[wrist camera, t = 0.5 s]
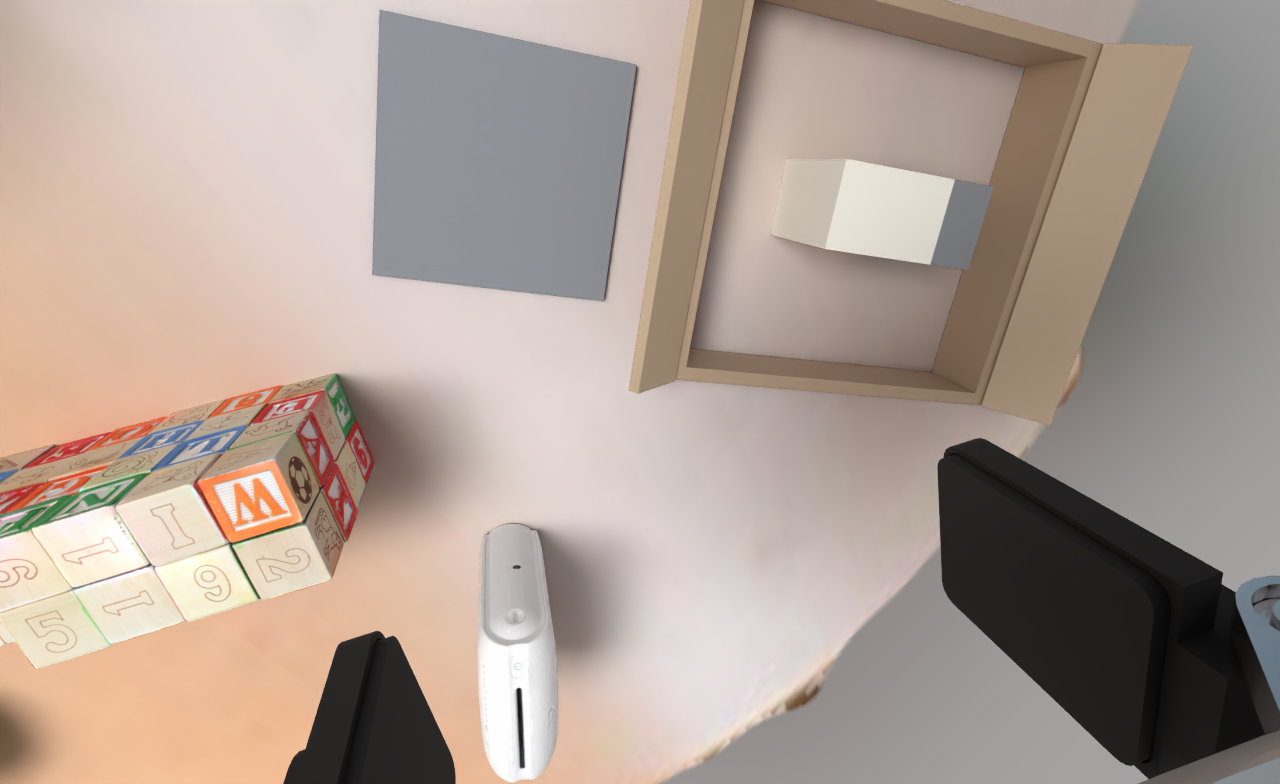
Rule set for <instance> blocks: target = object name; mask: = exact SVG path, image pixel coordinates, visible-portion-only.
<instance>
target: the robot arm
mask: <svg viewBox="0 0 1280 784" xmlns="http://www.w3.org/2000/svg"><path fill="white" fill-rule="evenodd" d="M938 490H939V515H940V540H941V564H942V583H943V587H944V590H945V592H946V594H947V596H948V598H949V599H950V600H951V602H952V603H953V604H954V605H955V606H956V607H957V608H958V609H959V610H960V611H961V612H962V613H964V614H965V615H966V616H967V617H968V618H969V619H970V620H971V621H972V622H973V623H974V624H975V625H976V626H977V627H978V628H979V629H980V630H981V631H982V632H983V633H985V634H986V635H987V636H988V637H989V638H990V639H991V640H992V641H993V642H994V643H995V644H996V645H997V646H998V647H999V648H1000V649H1002V651H1004V652H1005V653H1006V654H1007V655H1008V656H1009V657H1010V658H1011V659H1012V660H1013V661H1014V662H1015V663H1016V664H1017V665H1018V666H1019V667H1020V668H1021V669H1022V670H1024V671H1025V672H1026V673H1027V674H1028V675H1029V676H1030V677H1031V678H1032V679H1033V680H1034V681H1035V682H1036V683H1037V684H1038V685H1039V686H1040V687H1041V688H1042V689H1043V690H1044V691H1046V692H1047V693H1048V694H1049V695H1050V696H1051V697H1052V698H1053V699H1054V700H1055V701H1056V702H1057V703H1058V704H1059V705H1060V706H1061V707H1062V708H1064V710H1065V711H1067V712H1068V713H1069V714H1070V715H1071V716H1072V717H1073V718H1074V719H1075V720H1076V721H1077V722H1078V723H1079V724H1080V725H1081V726H1082V727H1083V728H1084V729H1085V730H1086V731H1088V732H1089V733H1090V734H1091V735H1092V736H1093V737H1094V738H1095V739H1096V740H1097V741H1098V742H1099V743H1100V744H1101V745H1102V746H1103V747H1104V748H1106V749H1107V750H1108V751H1109V752H1110V753H1111V754H1112V755H1113V756H1114V757H1115V758H1116V759H1118V760H1119V761H1120V762H1122V763H1124V764H1125V765H1129V766H1132V765H1134V766H1135V767H1137V768H1138V769H1139V770H1140V771H1141V772H1142V773H1143V774H1144V775H1145V776H1146V777H1147V778H1148V779H1149V780H1146V781H1144V782H1142V783H1139V784H1280V576H1266V577H1260V578H1254V579H1252V580H1250V581H1247V582H1245V583H1244V584H1242V585H1241V586H1240V587H1239V589H1238V590H1237V592H1234V591H1232V590H1231V589H1229V588H1227V587H1225V586H1224V585H1222V584H1221V583H1222V576H1223V573H1222V572H1221V571H1219V570H1217V569H1215V568H1213V567H1212V566H1210V565H1208V564H1206V563H1204V562H1203V561H1201V560H1199V559H1197V558H1196V557H1194V556H1192V555H1190V554H1188V553H1187V552H1185V551H1183V550H1182V549H1180V548H1178V547H1176V546H1174V545H1172V544H1171V543H1169V542H1167V541H1165V540H1164V539H1162V538H1160V537H1158V536H1156V535H1155V534H1153V533H1151V532H1149V531H1148V530H1146V529H1144V528H1142V527H1140V526H1139V525H1137V524H1135V523H1133V522H1132V521H1130V520H1128V519H1126V518H1124V517H1123V516H1121V515H1119V514H1117V513H1115V512H1114V511H1112V510H1110V509H1108V508H1106V507H1105V506H1103V505H1101V504H1100V503H1098V502H1096V501H1094V500H1092V499H1091V498H1089V497H1087V496H1085V495H1083V494H1082V493H1080V492H1078V491H1076V490H1075V489H1073V488H1071V487H1069V486H1067V485H1066V484H1064V483H1062V482H1060V481H1058V480H1057V479H1055V478H1053V477H1051V476H1049V475H1048V474H1046V473H1044V472H1042V471H1041V470H1039V469H1037V468H1035V467H1034V466H1032V465H1030V464H1028V463H1026V462H1025V461H1023V460H1021V459H1019V458H1018V457H1016V456H1014V455H1012V454H1010V453H1009V452H1007V451H1005V450H1003V449H1001V448H1000V447H998V446H996V445H994V444H993V443H991V442H989V441H987V440H985V439H982V438H977V439H974V440H970V441H967V442H964V443H961V444H958V445H955V446H952V447H949V448H948V449H946V451H945V453H944V458H942V459H941V460H939V463H938ZM283 784H455V768H454V762H453V759H452V756H451V753H450V751H449V749H448V746H447V744H446V742H445V740H444V738H443V736H442V734H441V731H440V729H439V727H438V725H437V723H436V721H435V718H434V716H433V714H432V712H431V710H430V708H429V706H428V703H427V701H426V699H425V697H424V695H423V693H422V691H421V688H420V686H419V684H418V682H417V680H416V678H415V675H414V673H413V671H412V669H411V667H410V665H409V663H408V660H407V658H406V656H405V654H404V652H403V650H402V647H401V645H400V643H399V641H398V640H397V638H396V637H395V636H391V637H388V638H385V637H384V635H383V634H382V633H381V632H380V631H375V632H372V633H369V634H366V635H363V636H360V637H356V638H353V639H350V640H347V641H344V642H341V643H340V644H339V645H338V647H337V649H336V652H335V655H334V658H333V661H332V665H331V668H330V671H329V674H328V678H327V681H326V684H325V687H324V691H323V694H322V697H321V700H320V704H319V707H318V710H317V714H316V717H315V720H314V723H313V727H312V730H311V733H310V736H309V740H308V743H307V746H306V749H305V750H302V751H299V752H298V753H297V754H296V755H295V757H294V758H293V760H292V762H291V764H290V766H289V768H288V771H287V774H286V777H285V780H284V783H283Z"/></svg>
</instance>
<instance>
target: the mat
mask: <svg viewBox="0 0 1280 784" xmlns="http://www.w3.org/2000/svg"><path fill="white" fill-rule="evenodd" d="M635 72H636V65H635V64H631V63H626V62H621V61H617V60H612V59H607V58H603V57H598V56H593V55H589V54H584V53H579V52H575V51H570V50H565V49H561V48H556V47H551V46H547V45H542V44H537V43H533V42H528V41H523V40H519V39H514V38H509V37H505V36H500V35H495V34H490V33H486V32H481V31H476V30H472V29H467V28H462V27H458V26H453V25H448V24H444V23H439V22H434V21H430V20H425V19H420V18H416V17H411V16H406V15H402V14H397V13H392V12H388V11H383V10H380V16H379V52H378V88H377V124H376V160H375V196H374V233H373V269H372V275H378V276H387V277H396V278H405V279H413V280H422V281H431V282H440V283H449V284H457V285H466V286H475V287H484V288H492V289H501V290H510V291H519V292H528V293H536V294H545V295H554V296H563V297H571V298H580V299H589V300H598V301H604V294H605V287H606V280H607V272H608V265H609V258H610V251H611V244H612V237H613V229H614V222H615V215H616V208H617V201H618V194H619V186H620V179H621V172H622V165H623V158H624V151H625V143H626V136H627V129H628V122H629V115H630V108H631V100H632V93H633V86H634V79H635Z"/></svg>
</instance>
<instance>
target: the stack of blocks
mask: <svg viewBox="0 0 1280 784" xmlns="http://www.w3.org/2000/svg"><path fill="white" fill-rule="evenodd" d="M373 465H374V462H373V459H372V457H371V454H370V452H369V449H368V447H367V444H366V442H365V439H364V437H363V435H362V432H361V430H360V428H359V425H358V422H357V421H356V420H355V418H354V415H353V413H352V410H351V408H350V405H349V403H348V400H347V398H346V395H345V393H344V390H343V388H342V386H341V383H340V381H339V378H338V375H337V374H336V373H334V374H330V375H326V376H322V377H318V378H314V379H310V380H306V381H302V382H298V383H294V384H290V385H286V386H276V387H272V388H268V389H264V390H260V391H257V392H253V393H249V394H245V395H241V396H237V397H233V398H229V399H227V400H221V401H217V402H212V403H208V404H204V405H201V406H197V407H193V408H189V409H185V410H182V411H177V412H174V413H172V414H170V415H169V416H168V417H162V418H158V419H155V420H151V421H148V422H143V423H139V424H136V425H132V426H128V427H124V428H120V429H117V430H115V431H113V432H109V433H105V434H101V435H97V436H93V437H89V438H85V439H82V440H78V441H73V442H70V443H66V444H62V445H59V446H56V447H55V446H53V445H50V446H46V447H43V448H39V449H35V450H31V451H27V452H23V453H19V454H15V455H11V456H7V457H3V458H0V646H3V645H5V644H7V643H14V642H16V643H17V644H18V646H19V647H20V649H21V650H22V651H23V653H24V654H25V656H26V657H27V659H28V660H29V661H30V663H31V664H32V665H33V667H34V668H35V669H40V668H44V667H47V666H50V665H54V664H57V663H60V662H63V661H66V660H69V659H72V658H75V657H78V656H82V655H85V654H88V653H92V652H95V651H98V650H101V649H104V648H107V647H109V646H111V645H112V644H115V643H118V642H122V641H126V640H129V639H132V638H136V637H139V636H142V635H145V634H148V633H150V632H153V631H157V630H161V629H164V628H167V627H170V626H173V625H176V624H179V623H181V622H183V621H189V622H190V621H194V620H197V619H201V618H204V617H207V616H211V615H214V614H217V613H221V612H224V611H227V610H230V609H234V608H237V607H240V606H243V605H246V604H250V603H253V602H256V601H258V600H259V599H260V598H261V599H270V598H273V597H276V596H280V595H283V594H287V593H290V592H293V591H297V590H300V589H303V588H307V587H310V586H314V585H317V584H320V583H324V582H326V581H328V580H331V578H332V577H333V575H334V572H335V569H336V566H337V563H338V560H339V557H340V554H341V551H342V548H343V544H344V542H346V541H348V539H349V536H350V534H351V531H352V528H353V525H354V522H355V520H356V516H357V513H358V510H357V509H358V507H359V503H360V500H361V497H362V494H363V492H364V488H365V485H366V484H367V482H368V479H369V476H370V473H371V470H372V468H373Z"/></svg>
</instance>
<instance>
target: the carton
mask: <svg viewBox="0 0 1280 784" xmlns="http://www.w3.org/2000/svg"><path fill="white" fill-rule="evenodd" d="M761 1H765V2H769V3H773V4H777V5H781V6H785V7H788V8H792V9H796V10H800V11H804V12H808V13H812V14H816V15H820V16H824V17H828V18H832V19H836V20H840V21H844V22H848V23H852V24H856V25H859V26H863V27H867V28H871V29H875V30H879V31H883V32H887V33H891V34H895V35H899V36H903V37H907V38H911V39H915V40H919V41H923V42H927V43H930V44H934V45H938V46H942V47H946V48H950V49H954V50H958V51H962V52H966V53H970V54H974V55H978V56H982V57H986V58H990V59H994V60H997V61H1001V62H1005V63H1009V64H1013V65H1017V66H1021V67H1025V70H1024V74H1023V77H1022V80H1021V83H1020V87H1019V90H1018V93H1017V96H1016V100H1015V103H1014V106H1013V109H1012V113H1011V116H1010V119H1009V122H1008V126H1007V129H1006V132H1005V135H1004V139H1003V142H1002V145H1001V148H1000V152H999V155H998V158H997V161H996V165H995V168H994V171H993V174H992V178H991V181H990V184H989V186H992V187H994V188H993V191H992V195H991V198H990V201H989V204H988V208H987V211H986V214H985V217H984V220H983V224H982V227H981V230H980V233H979V237H978V240H977V243H976V246H975V250H974V253H973V256H972V259H971V262H970V266H969V269H968V270H963V272H962V275H961V278H960V281H959V285H958V288H957V291H956V294H955V298H954V301H953V304H952V307H951V311H950V314H949V317H948V320H947V324H946V327H945V330H944V333H943V337H942V340H941V343H940V346H939V350H938V353H937V356H936V359H935V363H934V366H933V369H932V372H924V371H914V370H904V369H893V368H883V367H873V366H863V365H852V364H842V363H832V362H822V361H812V360H801V359H791V358H781V357H771V356H760V355H750V354H740V353H730V352H720V351H709V350H699V349H690V344H691V339H692V333H693V328H694V323H695V317H696V312H697V306H698V301H699V296H700V290H701V285H702V279H703V274H704V269H705V263H706V258H707V252H708V247H709V242H710V236H711V231H712V225H713V220H714V215H715V209H716V204H717V198H718V193H719V188H720V182H721V177H722V171H723V166H724V161H725V155H726V150H727V144H728V139H729V134H730V128H731V123H732V117H733V112H734V107H735V101H736V96H737V90H738V85H739V80H740V74H741V69H742V63H743V58H744V53H745V47H746V42H747V36H748V31H749V26H750V20H751V15H752V9H753V4H754V0H690V6H689V13H688V19H687V25H686V31H685V38H684V44H683V50H682V57H681V63H680V69H679V76H678V82H677V88H676V95H675V101H674V107H673V114H672V120H671V126H670V132H669V139H668V145H667V151H666V158H665V164H664V170H663V177H662V183H661V189H660V196H659V202H658V208H657V215H656V221H655V227H654V233H653V240H652V246H651V252H650V259H649V265H648V271H647V278H646V284H645V290H644V297H643V303H642V309H641V316H640V322H639V328H638V334H637V341H636V347H635V353H634V360H633V366H632V372H631V379H630V385H629V391H632V392H635V393H638V394H639V393H642V392H644V391H647V390H650V389H653V388H656V387H659V386H662V385H665V384H667V383H670V382H673V381H675V380H684V381H696V382H708V383H720V384H732V385H744V386H756V387H768V388H780V389H791V390H803V391H815V392H827V393H839V394H851V395H863V396H875V397H887V398H899V399H910V400H922V401H934V402H946V403H958V404H970V405H981V406H982V407H985V408H989V409H992V410H996V411H1000V412H1003V413H1007V414H1011V415H1014V416H1018V417H1021V418H1025V419H1029V420H1032V421H1036V422H1040V423H1043V424H1047V425H1050V424H1051V422H1052V419H1053V416H1054V414H1055V411H1056V408H1057V406H1058V403H1059V400H1060V398H1061V395H1062V393H1063V390H1064V387H1065V385H1066V382H1067V379H1068V377H1069V374H1070V371H1071V369H1072V366H1073V363H1074V361H1075V358H1076V355H1077V353H1078V350H1079V348H1080V345H1081V342H1082V340H1083V337H1084V334H1085V332H1086V329H1087V326H1088V324H1089V321H1090V318H1091V316H1092V313H1093V310H1094V307H1095V305H1096V302H1097V300H1098V297H1099V295H1100V292H1101V289H1102V287H1103V284H1104V281H1105V279H1106V276H1107V273H1108V270H1109V268H1110V265H1111V263H1112V260H1113V257H1114V255H1115V252H1116V249H1117V247H1118V244H1119V242H1120V239H1121V236H1122V234H1123V231H1124V228H1125V226H1126V223H1127V220H1128V218H1129V215H1130V212H1131V210H1132V207H1133V204H1134V201H1135V199H1136V196H1137V194H1138V191H1139V189H1140V186H1141V183H1142V181H1143V178H1144V175H1145V173H1146V170H1147V167H1148V165H1149V162H1150V159H1151V157H1152V154H1153V151H1154V149H1155V146H1156V143H1157V141H1158V138H1159V135H1160V133H1161V130H1162V127H1163V125H1164V122H1165V120H1166V117H1167V114H1168V111H1169V109H1170V106H1171V104H1172V101H1173V98H1174V96H1175V93H1176V90H1177V88H1178V85H1179V83H1180V80H1181V77H1182V75H1183V72H1184V69H1185V67H1186V64H1187V61H1188V59H1189V56H1190V53H1191V51H1192V48H1193V45H1192V46H1191V45H1159V44H1158V45H1157V44H1126V43H1104V44H1101V43H1097V42H1094V41H1090V40H1086V39H1083V38H1079V37H1076V36H1072V35H1068V34H1065V33H1061V32H1057V31H1054V30H1050V29H1047V28H1043V27H1039V26H1036V25H1032V24H1028V23H1025V22H1021V21H1018V20H1014V19H1010V18H1007V17H1003V16H999V15H996V14H992V13H989V12H985V11H981V10H978V9H974V8H970V7H967V6H963V5H960V4H956V3H952V2H949V1H945V0H761Z"/></svg>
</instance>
